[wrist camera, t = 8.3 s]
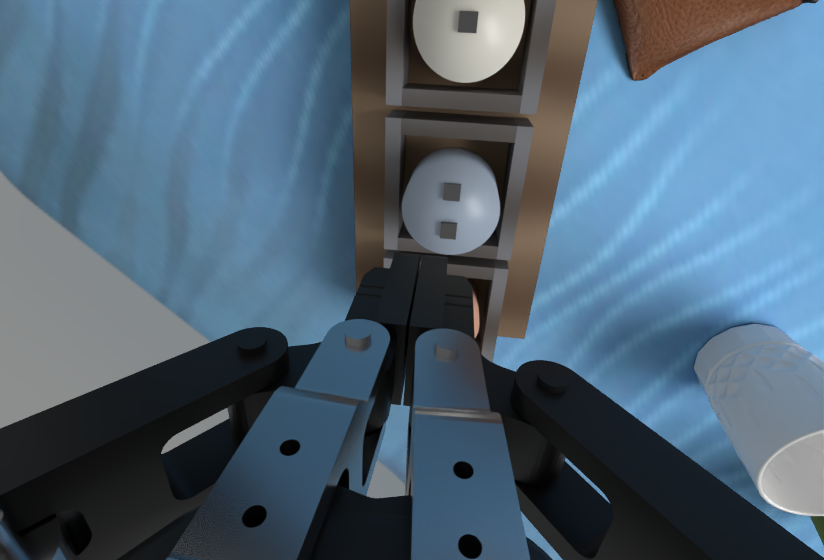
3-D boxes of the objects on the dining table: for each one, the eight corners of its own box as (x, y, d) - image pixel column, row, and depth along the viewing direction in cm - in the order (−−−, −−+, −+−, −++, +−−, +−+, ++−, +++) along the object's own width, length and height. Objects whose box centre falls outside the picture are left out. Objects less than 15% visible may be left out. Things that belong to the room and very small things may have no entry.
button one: (422, -40, 20) (414, -50, 18) (526, -35, 20) (535, -46, 17) (417, 73, 23) (409, 80, 20) (510, 79, 22) (515, 86, 20)
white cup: (667, 387, 35) (731, 503, 27) (714, 307, 31) (806, 413, 23) (766, 404, 35) (863, 526, 26) (825, 326, 31) (962, 440, 22)
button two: (410, 143, 23) (402, 159, 20) (502, 150, 23) (507, 167, 20) (407, 227, 25) (399, 252, 23) (490, 235, 25) (492, 260, 22)
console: (361, -64, 23) (333, -88, 18) (595, -56, 22) (629, -79, 17) (365, 306, 35) (349, 350, 30) (518, 322, 34) (526, 370, 29)
